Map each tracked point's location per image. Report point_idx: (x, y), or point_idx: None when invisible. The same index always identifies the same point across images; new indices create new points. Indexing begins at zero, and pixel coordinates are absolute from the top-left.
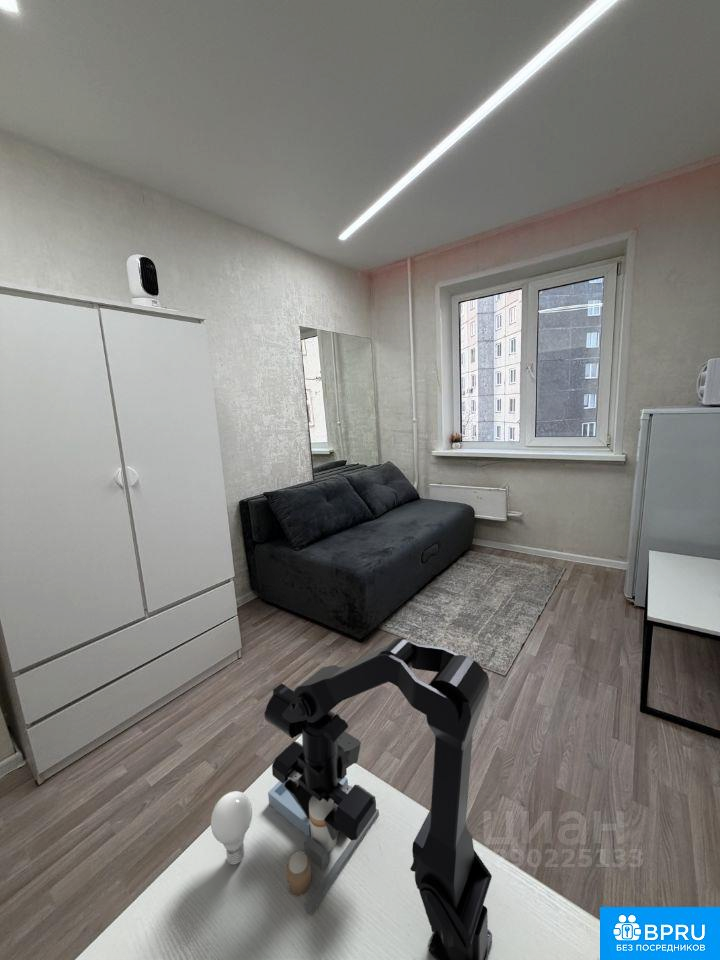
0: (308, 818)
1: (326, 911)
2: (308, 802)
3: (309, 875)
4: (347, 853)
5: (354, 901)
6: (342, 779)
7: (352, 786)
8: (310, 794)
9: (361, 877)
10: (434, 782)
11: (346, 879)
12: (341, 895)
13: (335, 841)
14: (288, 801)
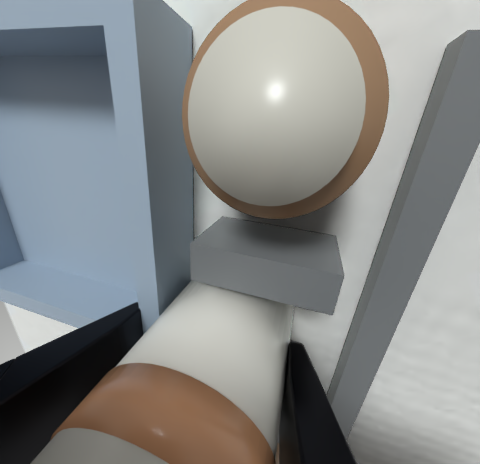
0: (140, 337)
1: (367, 457)
2: (62, 415)
3: (277, 457)
4: (375, 351)
5: (463, 440)
6: (107, 18)
7: (229, 51)
8: (9, 438)
9: (469, 381)
10: None
11: (399, 392)
12: (400, 428)
13: (292, 318)
14: (49, 245)
